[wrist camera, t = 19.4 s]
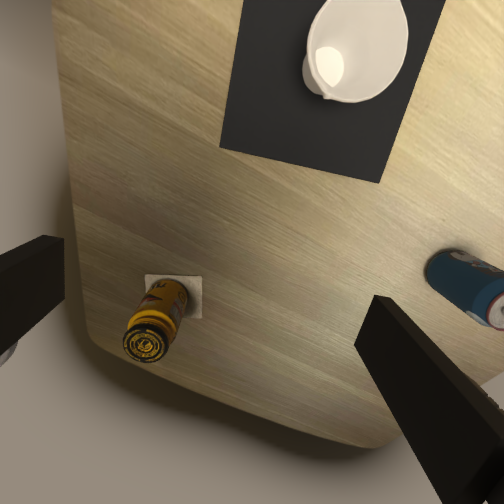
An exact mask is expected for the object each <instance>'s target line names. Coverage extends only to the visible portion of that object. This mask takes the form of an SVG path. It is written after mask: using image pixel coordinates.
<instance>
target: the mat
mask: <svg viewBox="0 0 504 504" xmlns="http://www.w3.org/2000/svg"><path fill="white" fill-rule="evenodd" d="M326 1H327V0H244V2H243V8H242V14H241V20H240V26H239V32H238V38H237V44H236V50H235V56H234V62H233V68H232V74H231V80H230V86H229V92H228V98H227V104H226V110H225V116H224V122H223V128H222V134H221V140H220V146H219V147H220V148H225V149H229V150H233V151H238V152H242V153H247V154H251V155H255V156H260V157H264V158H269V159H273V160H277V161H282V162H286V163H291V164H295V165H299V166H304V167H308V168H313V169H317V170H321V171H326V172H330V173H335V174H339V175H343V176H348V177H352V178H357V179H361V180H365V181H370V182H374V183H379V182H380V180H381V177H382V174H383V171H384V169H385V166H386V163H387V160H388V158H389V155H390V152H391V149H392V147H393V144H394V141H395V138H396V136H397V133H398V130H399V127H400V125H401V122H402V119H403V116H404V114H405V111H406V108H407V105H408V103H409V100H410V97H411V94H412V92H413V89H414V86H415V83H416V81H417V78H418V75H419V72H420V70H421V67H422V64H423V61H424V59H425V56H426V53H427V50H428V48H429V45H430V42H431V39H432V37H433V34H434V31H435V28H436V26H437V23H438V20H439V17H440V15H441V12H442V9H443V6H444V4H445V1H446V0H400V2H401V5H402V8H403V10H404V13H405V16H406V19H407V26H408V42H407V50H406V55H405V58H404V62H403V65H402V67H401V68H400V70H399V72H398V74H397V76H396V77H395V79H394V80H393V81H392V82H391V83H390V85H389V86H388V87H387V88H386V89H384V90H383V91H382V92H381V93H379V94H378V95H376V96H374V97H373V98H371V99H369V100H365V101H361V102H357V103H346V102H340V101H336V100H333V99H324V98H323V95H319V94H315V93H313V92H312V91H311V90H310V89H309V88H308V87H307V86H306V84H305V82H304V79H303V73H302V68H303V61H304V58H305V56H306V54H307V39H308V34H309V31H310V28H311V24H312V22H313V20H314V18H315V16H316V15H317V13H318V12H319V10H320V9H321V8H322V6H323V5H324V4H325V2H326Z"/></svg>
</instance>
